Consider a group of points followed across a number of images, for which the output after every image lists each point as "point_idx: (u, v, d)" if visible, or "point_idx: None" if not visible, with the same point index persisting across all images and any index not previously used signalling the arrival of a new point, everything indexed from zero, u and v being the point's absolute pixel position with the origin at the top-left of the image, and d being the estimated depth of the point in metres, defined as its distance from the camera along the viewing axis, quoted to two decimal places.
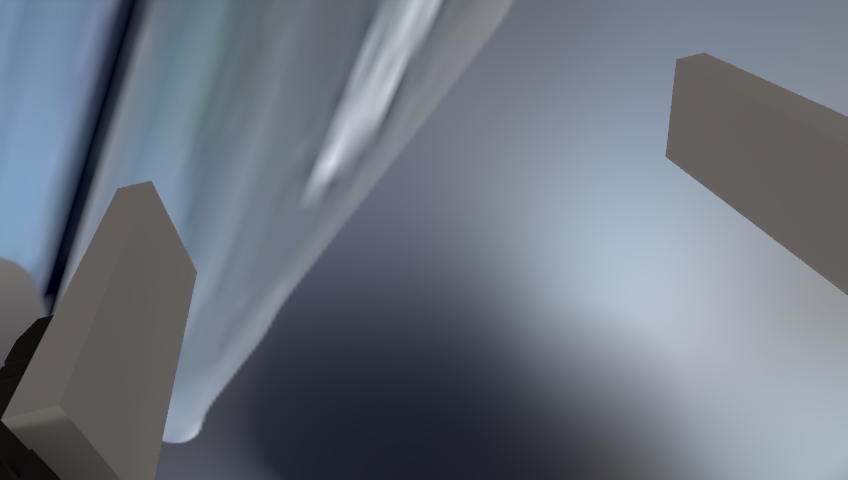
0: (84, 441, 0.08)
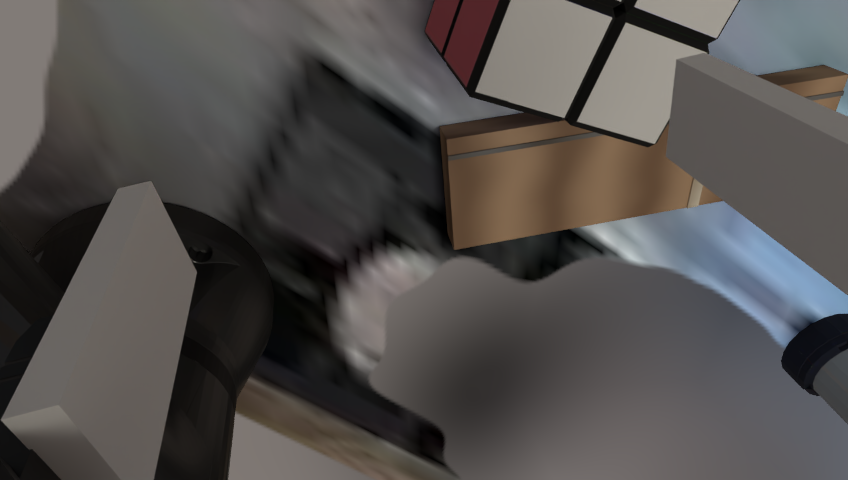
0: (84, 441, 0.08)
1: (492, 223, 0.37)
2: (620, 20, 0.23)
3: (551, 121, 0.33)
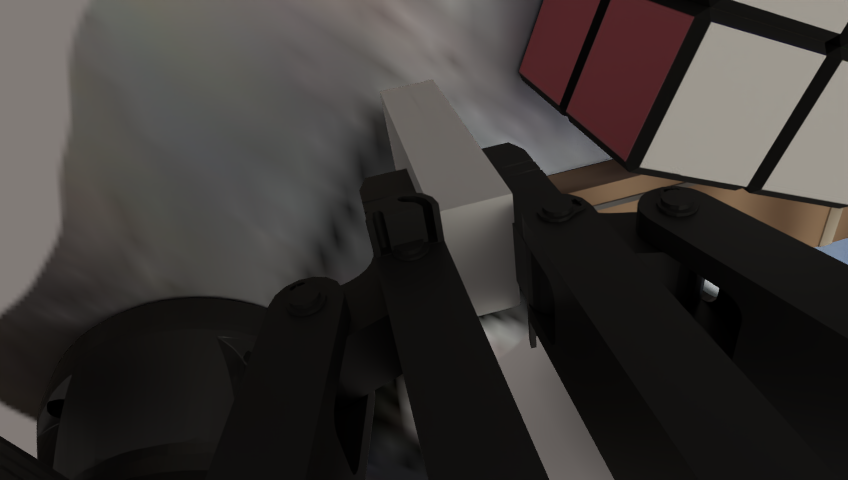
0: (472, 240, 0.10)
1: None
2: (834, 57, 0.17)
3: None
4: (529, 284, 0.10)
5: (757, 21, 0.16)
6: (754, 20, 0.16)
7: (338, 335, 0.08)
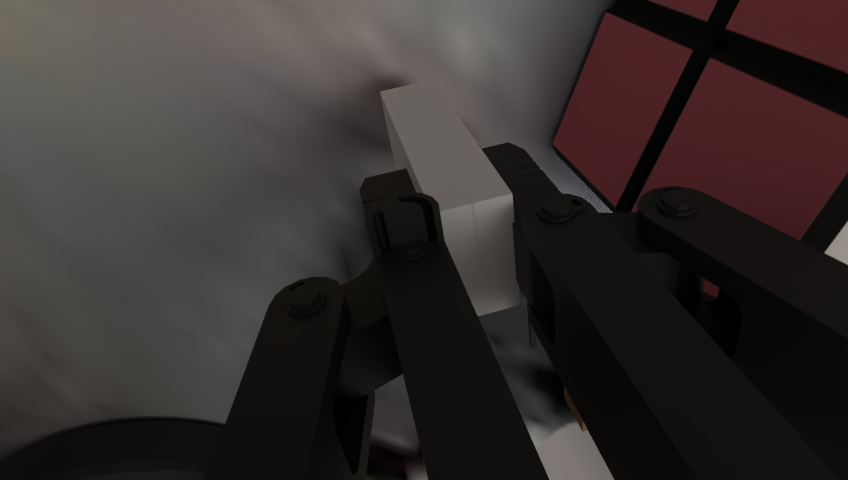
0: (472, 240, 0.10)
1: None
2: None
3: None
4: (529, 284, 0.10)
5: None
6: None
7: (338, 335, 0.08)
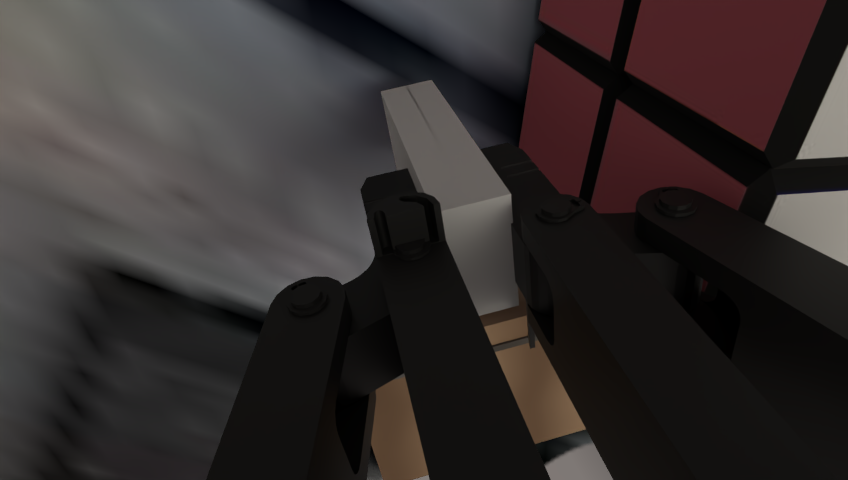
0: (474, 240, 0.10)
1: None
2: None
3: (513, 315, 0.21)
4: (528, 284, 0.10)
5: None
6: None
7: (339, 335, 0.08)
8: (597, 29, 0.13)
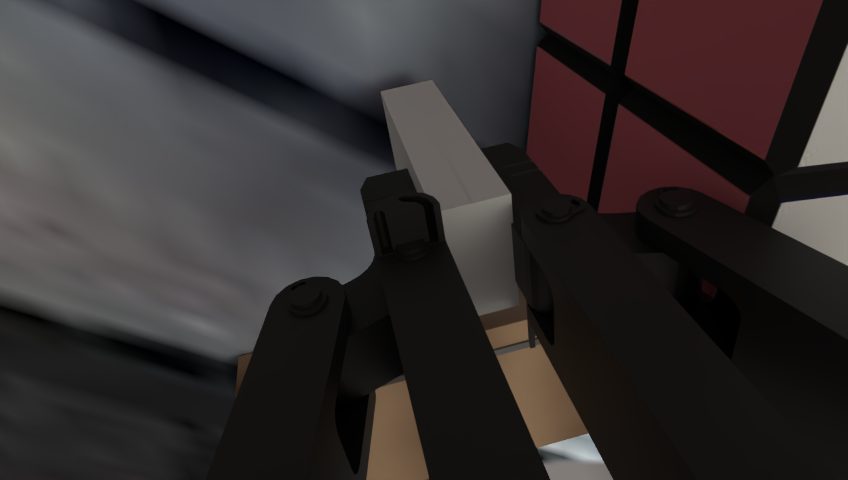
0: (473, 240, 0.10)
1: None
2: None
3: None
4: (528, 284, 0.10)
5: None
6: None
7: (340, 335, 0.08)
8: (597, 33, 0.13)
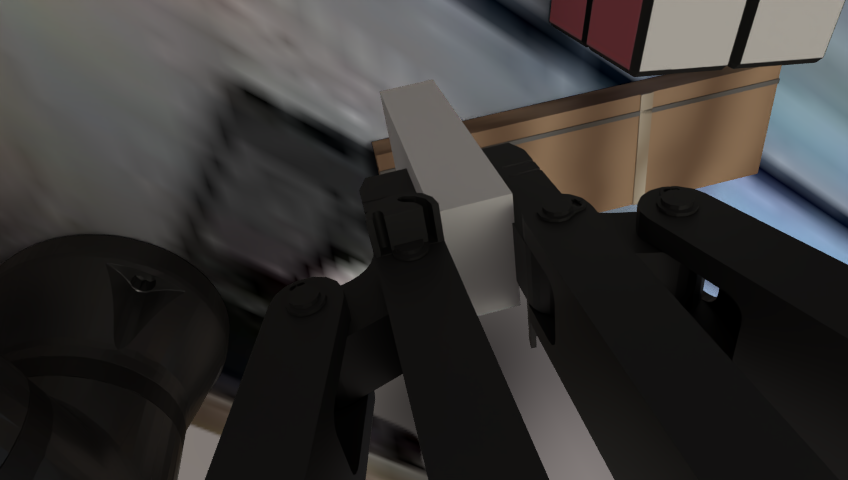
0: (472, 240, 0.10)
1: None
2: None
3: (480, 130, 0.34)
4: (529, 284, 0.10)
5: None
6: None
7: (338, 335, 0.08)
8: None
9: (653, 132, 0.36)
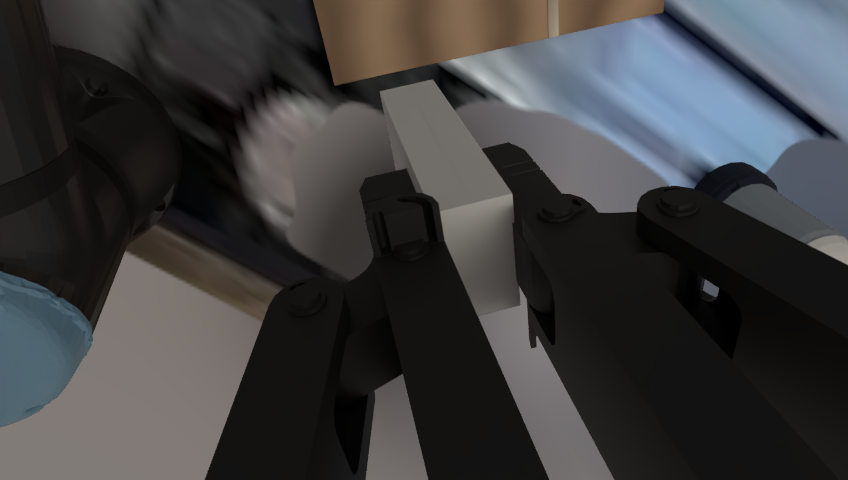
0: (472, 240, 0.10)
1: (365, 56, 0.41)
2: None
3: None
4: (529, 284, 0.10)
5: None
6: None
7: (338, 335, 0.08)
8: None
9: None
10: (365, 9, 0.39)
